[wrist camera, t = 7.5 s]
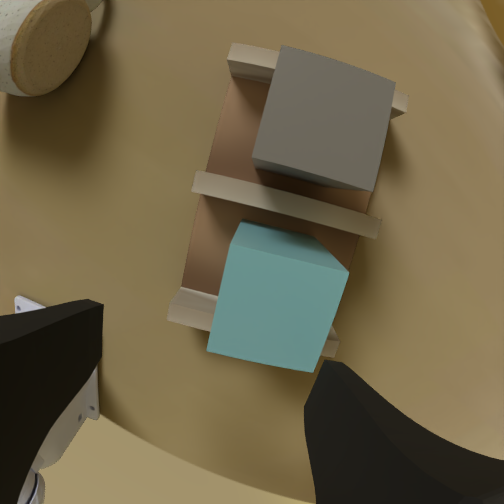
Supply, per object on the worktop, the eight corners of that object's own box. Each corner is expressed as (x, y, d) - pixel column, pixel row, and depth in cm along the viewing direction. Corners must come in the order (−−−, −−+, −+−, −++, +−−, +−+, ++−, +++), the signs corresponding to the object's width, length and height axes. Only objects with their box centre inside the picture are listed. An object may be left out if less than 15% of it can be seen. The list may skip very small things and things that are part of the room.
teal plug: (294, 303, 18) (313, 372, 11) (226, 287, 18) (206, 350, 11) (314, 236, 17) (349, 272, 10) (242, 218, 17) (230, 243, 10)
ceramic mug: (65, 110, 16) (-13, 87, 9) (1, 92, 16) (-65, 75, 8) (138, -17, 14) (97, -78, 7) (63, -19, 14) (16, -60, 6)
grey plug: (327, 187, 16) (373, 192, 9) (255, 167, 16) (251, 157, 9) (344, 118, 15) (395, 82, 8) (272, 98, 15) (281, 44, 8)
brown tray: (322, 330, 19) (333, 357, 16) (181, 297, 19) (166, 319, 15) (385, 108, 16) (408, 95, 13) (237, 65, 15) (232, 42, 12)
